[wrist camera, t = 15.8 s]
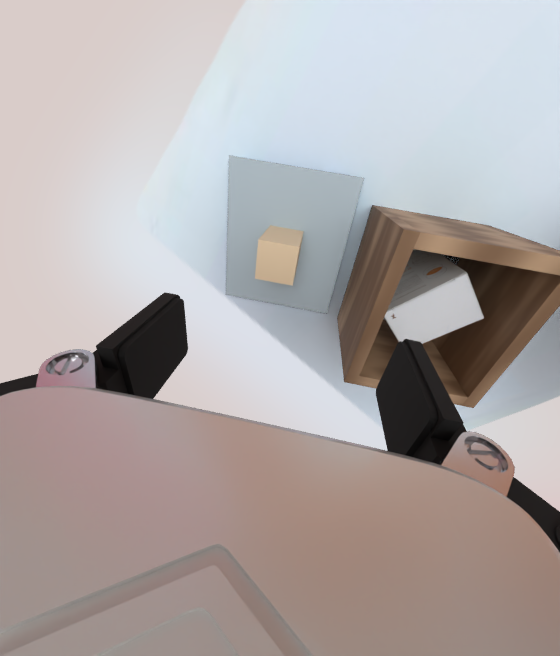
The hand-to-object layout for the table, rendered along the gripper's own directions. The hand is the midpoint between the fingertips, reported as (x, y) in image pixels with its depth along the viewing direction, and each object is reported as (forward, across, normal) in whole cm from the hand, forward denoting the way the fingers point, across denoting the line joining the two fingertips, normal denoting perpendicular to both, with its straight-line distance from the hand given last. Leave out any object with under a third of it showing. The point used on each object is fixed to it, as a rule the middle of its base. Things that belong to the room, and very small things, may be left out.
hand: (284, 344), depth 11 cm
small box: (+25, -13, +4) cm, 29 cm away
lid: (+25, +3, +2) cm, 25 cm away
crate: (+25, -13, +4) cm, 29 cm away
